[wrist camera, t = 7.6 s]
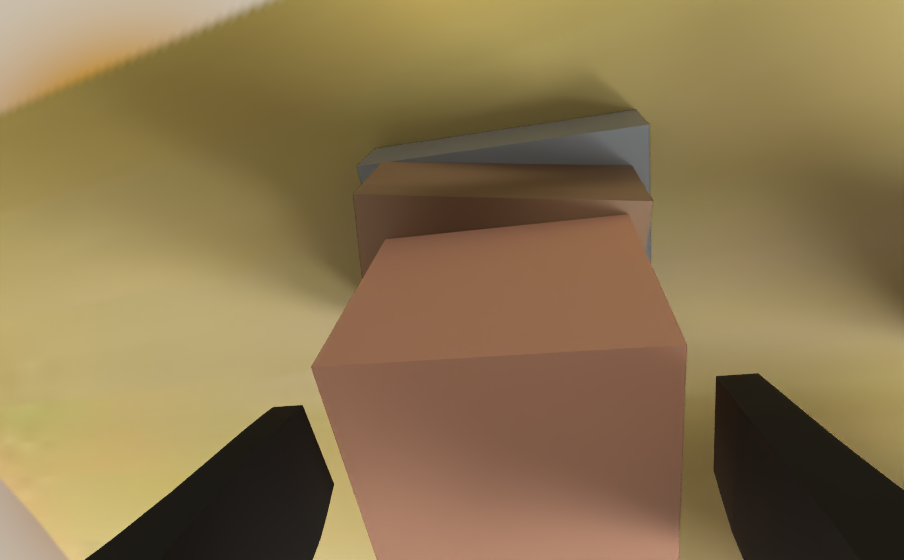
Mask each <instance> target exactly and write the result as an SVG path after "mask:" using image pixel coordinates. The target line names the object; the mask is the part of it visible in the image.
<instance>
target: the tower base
mask: <svg viewBox="0 0 904 560" xmlns="http://www.w3.org/2000/svg"><path fill="white" fill-rule="evenodd" d="M381 162H442V163H507V164H571V165H632V166H633V168H634V169H635V171H636V173H637V174H638V176H639V178H640V179H641V181H642V183H643V184H644V186H645V188H646V190H647V191H648V193H649V195H650V127H649V123H648V122H647V121H646V120H645V119H644V118H643V117H642V116H641V114H640V113H639V112H638V111H637V110H629V111H623V112H616V113H609V114H602V115H596V116H589V117H582V118H576V119H569V120H562V121H555V122H549V123H542V124H535V125H529V126H522V127H515V128H508V129H502V130H495V131H488V132H482V133H475V134H468V135H461V136H455V137H448V138H441V139H435V140H428V141H421V142H414V143H408V144H401V145H394V146H388V147H381V148H375V149H374V150H373V151H372V152H371V153H370V154H369V155H368V156H367V157H366V158H365V159H364V160H363V161H362V162H361V163H360V164H359V165H358V166H357V169H358V173H359V177H360V181H361V185H362V183H363V182H364V181H365V180H366V179H367V178H368V177H369V176H370V175H371V173H372V172H373V171H374V170H375V169H376V168H377V167H378V166H379V164H380V163H381ZM645 252H646V254H647V256H648V259H649V261H650V263H651V219H650V225H649V232H648V238H647V244H646V250H645Z"/></svg>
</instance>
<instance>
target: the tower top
mask: <svg viewBox="0 0 904 560" xmlns="http://www.w3.org/2000/svg"><path fill="white" fill-rule="evenodd" d="M353 200H354V209H355V218H356V227H357V237H358V246H359V255H360V264H361V273H362V279H363V277H364V275H365V274H366V272H367V270H368V268H369V267H370V265H371V263H372V261H373V260H374V258H375V256H376V255H377V253H378V251H379V249H380V248H381V246H382V244H383V243H384V241H385V239H392V238H402V237H412V236H422V235H431V234H441V233H451V232H460V231H470V230H480V229H489V228H499V227H509V226H518V225H528V224H538V223H547V222H557V221H567V220H576V219H586V218H596V217H605V216H615V215H625V214H629V216H630V218H631V221H632V223H633V225H634V227H635V230H636V232H637V234H638V236H639V239H640V241H641V243H642V245H643V247H644V250H646V244H647V238H648V232H649V225H650V219H651V213H652V207H653V200H652V198H651V196H650V195H649V193H648V191H647V190H646V188H645V186H644V184H643V183H642V181H641V179H640V178H639V176H638V174H637V173H636V171H635V169H634V168H633V166H632V165H571V164H507V163H442V162H381V163H380V164H379V166H378V167H377V168H376V169H375V170H374V171H373V172H372V173H371V175H370V176H369V177H368V178H367V179H366V180H365V181H364V182H363V183H362V185H361V186H360V187H359V188H358V189H357V190H356V191H355V192H354V194H353Z"/></svg>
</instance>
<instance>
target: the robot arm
mask: <svg viewBox="0 0 904 560" xmlns="http://www.w3.org/2000/svg"><path fill="white" fill-rule="evenodd" d="M714 473H715V476H716V480H717V483H718V487H719V490H720V494H721V497H722V501H723V504H724V507H725V510H726V514H727V517H728V520H729V523H730V527H731V530H732V533H733V535H734V538H735V540H736V542H737V545H738V547H739V550H740V552H741V554H742V557H743V559H744V560H904V490H903V489H902V488H900V487H899V486H897V485H896V484H895V483H893V482H892V481H891V480H890V479H888V478H887V477H886V476H884V475H883V474H882V473H880V472H879V471H878V470H877V469H875V468H874V467H873V466H871V465H870V464H869V463H868V462H866V461H865V460H864V459H862V458H861V457H860V456H858V455H857V454H856V453H855V452H853V451H852V450H851V449H849V448H848V447H847V446H846V445H844V444H843V443H842V442H841V441H839V440H838V439H837V438H836V437H834V436H833V435H832V434H831V433H829V432H828V431H827V430H826V429H825V428H823V427H822V426H821V425H820V424H818V423H817V422H816V421H815V420H814V419H812V418H811V417H810V416H809V415H807V414H806V413H805V412H804V411H803V410H801V409H800V408H799V407H798V406H797V405H795V404H794V403H793V402H792V401H791V400H789V399H788V398H787V397H786V396H785V395H784V394H782V393H781V392H780V391H779V390H778V389H776V388H775V387H774V386H773V385H771V384H770V383H769V382H768V381H767V380H765V379H764V378H763V377H762V376H760V375H759V374H758V373H757V374H742V375H728V376H716V400H715V438H714ZM333 486H334V483H333V480H332V478H331V475H330V473H329V470H328V468H327V465H326V463H325V460H324V458H323V455H322V453H321V450H320V448H319V445H318V443H317V440H316V438H315V435H314V433H313V430H312V428H311V425H310V423H309V420H308V418H307V415H306V413H305V410H304V408H303V405H298V406H283V407H273V408H271V409H270V410H269V411H267V412H266V413H265V414H263V415H262V416H261V417H260V418H258V419H257V420H256V421H255V422H253V423H252V424H251V425H250V426H248V427H247V428H246V429H245V430H244V431H242V432H241V433H240V434H239V435H238V436H237V437H235V438H234V439H233V440H232V441H231V442H229V443H228V444H227V445H226V446H225V447H224V448H222V449H221V450H220V451H219V452H218V453H217V454H215V455H214V456H213V457H212V458H211V459H210V460H208V461H207V462H206V463H205V464H204V465H203V466H201V467H200V468H199V469H198V470H197V471H195V472H194V473H193V474H192V475H191V476H190V477H188V478H187V479H186V480H185V481H184V482H182V483H181V484H180V485H179V486H178V487H177V488H175V489H174V490H173V491H172V492H171V493H169V494H168V495H167V496H166V497H164V498H163V499H162V500H161V501H159V502H158V503H157V504H156V505H154V506H153V507H152V508H151V509H149V510H148V511H147V512H146V513H144V514H143V515H142V516H141V517H139V518H138V519H137V520H136V521H134V522H133V523H132V524H131V525H129V526H128V527H127V528H126V529H124V530H123V531H122V532H121V533H119V534H118V535H117V536H116V537H114V538H113V539H112V540H110V541H109V542H108V543H106V544H105V545H104V546H103V547H101V548H100V549H99V550H97V551H96V552H95V553H93V554H92V555H90V556H89V557H88V558H86V559H85V560H313V557H314V555H315V552H316V549H317V547H318V544H319V541H320V538H321V535H322V531H323V527H324V524H325V520H326V516H327V512H328V508H329V504H330V499H331V495H332V491H333Z"/></svg>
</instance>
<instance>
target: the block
mask: <svg viewBox="0 0 904 560" xmlns="http://www.w3.org/2000/svg"><path fill="white" fill-rule="evenodd" d="M686 357H687V344H686V341H685V339H684V337H683V335H682V333H681V330H680V328H679V326H678V324H677V321H676V319H675V317H674V315H673V312H672V310H671V308H670V306H669V303H668V301H667V299H666V297H665V294H664V292H663V290H662V288H661V286H660V283H659V281H658V279H657V277H656V274H655V272H654V270H653V268H652V265H651V263H650V261H649V259H648V256H647V254H646V252H645V250H644V247H643V245H642V243H641V241H640V239H639V236H638V234H637V232H636V230H635V227H634V225H633V223H632V221H631V218H630V216H629V214H625V215H615V216H605V217H596V218H586V219H576V220H567V221H557V222H547V223H538V224H528V225H518V226H509V227H499V228H489V229H480V230H470V231H460V232H451V233H441V234H431V235H422V236H412V237H402V238H392V239H385V241H384V243H383V244H382V246H381V248H380V249H379V251H378V253H377V255H376V256H375V258H374V260H373V261H372V263H371V265H370V267H369V268H368V270H367V272H366V274H365V275H364V277H363V279H362V280H361V282H360V284H359V286H358V287H357V289H356V291H355V292H354V294H353V296H352V298H351V299H350V301H349V303H348V304H347V306H346V308H345V310H344V311H343V313H342V315H341V316H340V318H339V320H338V322H337V323H336V325H335V327H334V328H333V330H332V332H331V334H330V335H329V337H328V339H327V340H326V342H325V344H324V346H323V347H322V349H321V351H320V352H319V354H318V356H317V358H316V359H315V361H314V363H313V365H312V366H311V368H312V371H313V374H314V377H315V380H316V383H317V386H318V389H319V392H320V395H321V398H322V401H323V404H324V406H325V409H326V412H327V415H328V418H329V421H330V424H331V427H332V430H333V433H334V436H335V439H336V441H337V444H338V447H339V450H340V453H341V456H342V459H343V462H344V465H345V468H346V471H347V474H348V477H349V479H350V482H351V485H352V488H353V491H354V494H355V497H356V500H357V503H358V506H359V509H360V512H361V514H362V517H363V520H364V523H365V526H366V529H367V532H368V535H369V538H370V541H371V544H372V547H373V550H374V552H375V555H376V558H377V560H678V557H679V532H680V507H681V482H682V457H683V432H684V407H685V382H686Z"/></svg>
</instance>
